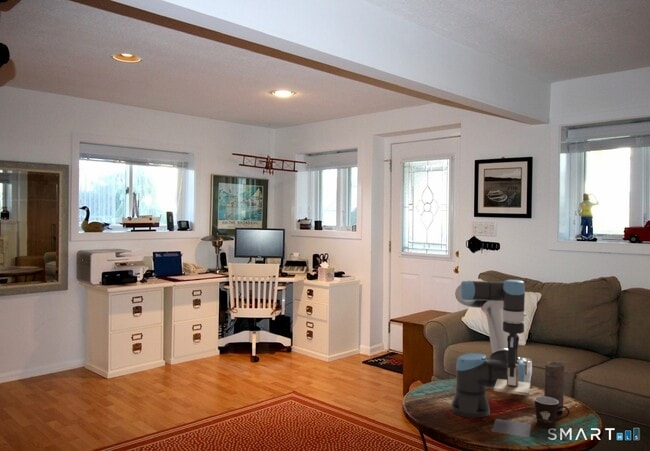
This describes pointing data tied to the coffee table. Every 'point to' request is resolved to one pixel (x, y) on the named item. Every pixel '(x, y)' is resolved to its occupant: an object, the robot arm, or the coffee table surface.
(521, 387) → the cover
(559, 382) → the dark brown log
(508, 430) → the mat
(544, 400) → the coffee mug
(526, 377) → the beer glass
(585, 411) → the coffee table surface
